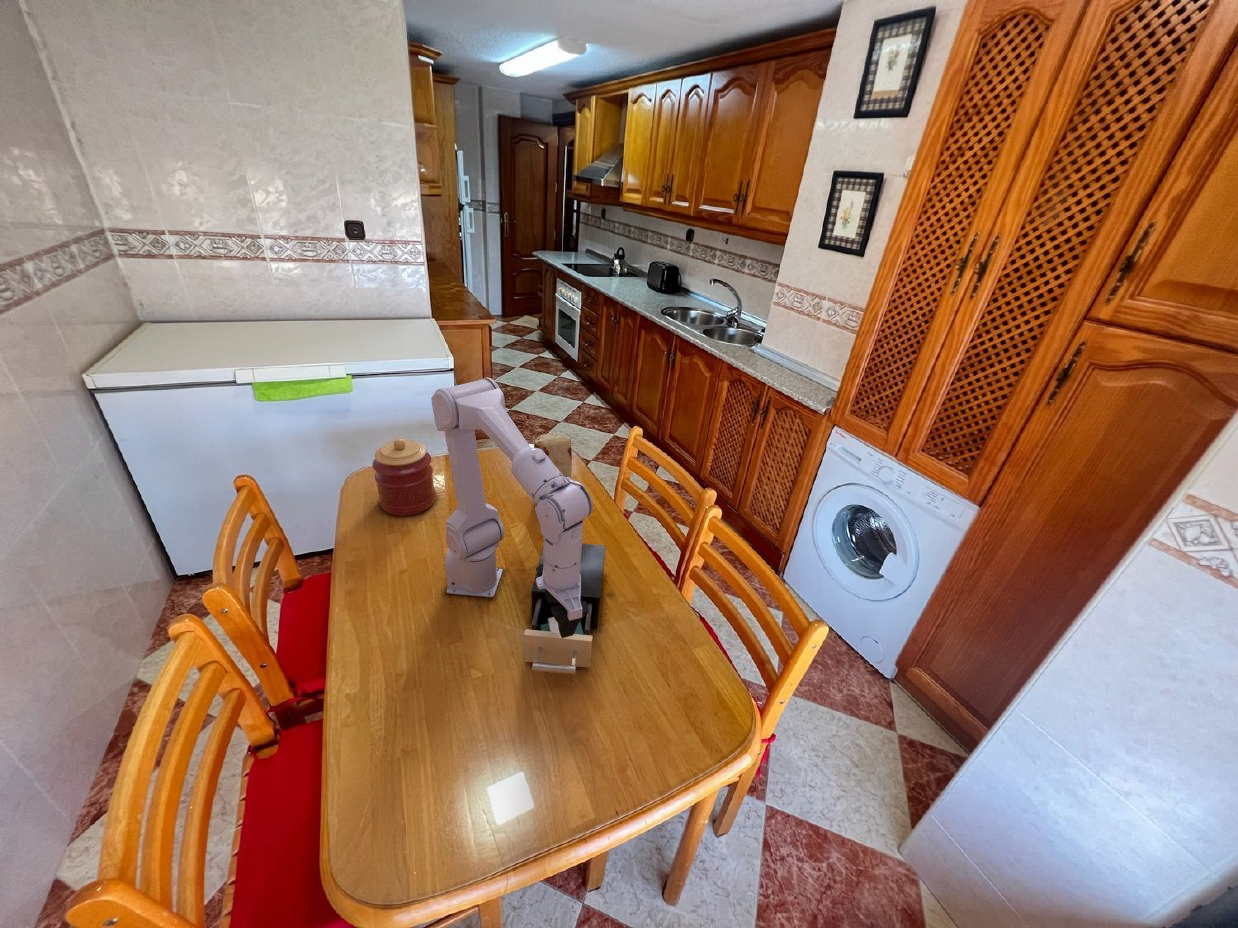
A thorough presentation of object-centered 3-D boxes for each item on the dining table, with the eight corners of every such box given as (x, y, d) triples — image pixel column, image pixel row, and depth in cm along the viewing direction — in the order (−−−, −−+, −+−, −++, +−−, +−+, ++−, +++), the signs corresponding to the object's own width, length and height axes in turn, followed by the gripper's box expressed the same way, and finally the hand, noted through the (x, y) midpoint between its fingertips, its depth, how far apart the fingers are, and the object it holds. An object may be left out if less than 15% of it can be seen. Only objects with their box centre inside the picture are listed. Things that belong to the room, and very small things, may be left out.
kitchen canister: (429, 482, 131) (421, 423, 123) (442, 509, 122) (434, 446, 113) (376, 494, 125) (363, 432, 116) (385, 522, 116) (372, 457, 107)
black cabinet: (597, 629, 94) (600, 597, 90) (531, 623, 94) (531, 590, 90) (602, 576, 107) (605, 545, 103) (544, 570, 107) (545, 539, 102)
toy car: (545, 654, 87) (543, 639, 84) (541, 631, 90) (539, 617, 88) (584, 644, 88) (583, 630, 86) (578, 622, 92) (577, 608, 90)
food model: (534, 513, 124) (534, 443, 114) (530, 498, 129) (529, 430, 119) (572, 509, 127) (575, 440, 117) (567, 494, 132) (569, 427, 122)
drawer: (587, 689, 82) (589, 663, 79) (519, 683, 82) (518, 656, 79) (596, 608, 98) (598, 583, 94) (538, 603, 98) (539, 577, 94)
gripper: (525, 531, 80) (526, 592, 87) (550, 594, 69) (548, 658, 76) (567, 524, 83) (564, 583, 90) (597, 583, 71) (592, 646, 78)
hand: (560, 617), depth 83 cm, fingers open, 7 cm apart
